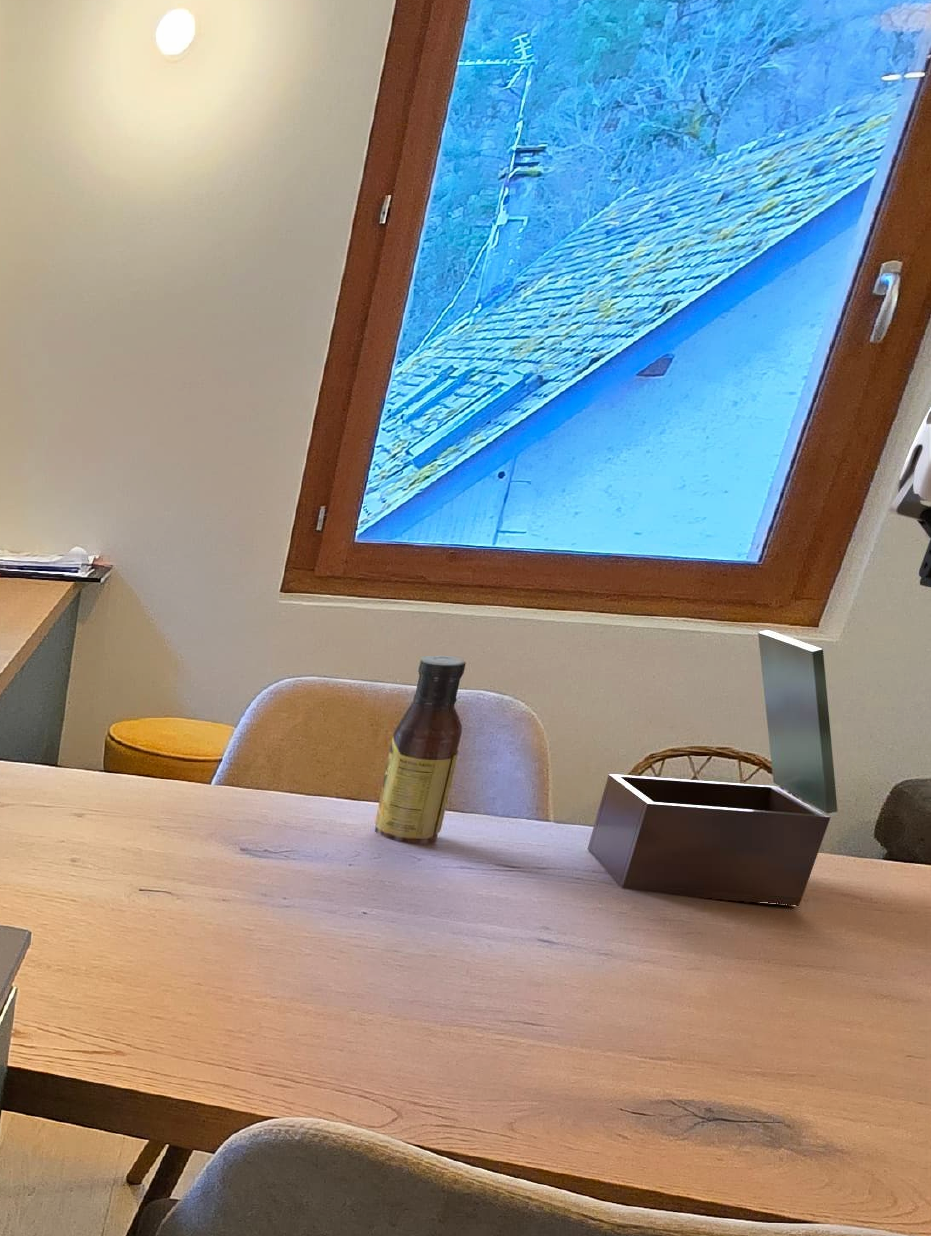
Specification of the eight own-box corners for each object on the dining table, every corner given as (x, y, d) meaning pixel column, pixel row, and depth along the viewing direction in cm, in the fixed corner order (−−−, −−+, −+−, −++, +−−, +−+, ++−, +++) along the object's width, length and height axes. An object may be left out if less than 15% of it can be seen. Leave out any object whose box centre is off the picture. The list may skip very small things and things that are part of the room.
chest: (621, 890, 132) (647, 803, 128) (585, 855, 142) (608, 774, 138) (798, 907, 128) (830, 817, 124) (748, 869, 138) (776, 786, 134)
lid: (812, 651, 120) (823, 649, 120) (757, 632, 130) (767, 629, 130) (827, 813, 124) (837, 811, 124) (773, 782, 134) (783, 780, 134)
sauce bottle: (397, 829, 149) (439, 649, 140) (449, 847, 144) (496, 660, 135) (356, 839, 146) (396, 656, 138) (407, 857, 141) (453, 668, 133)
